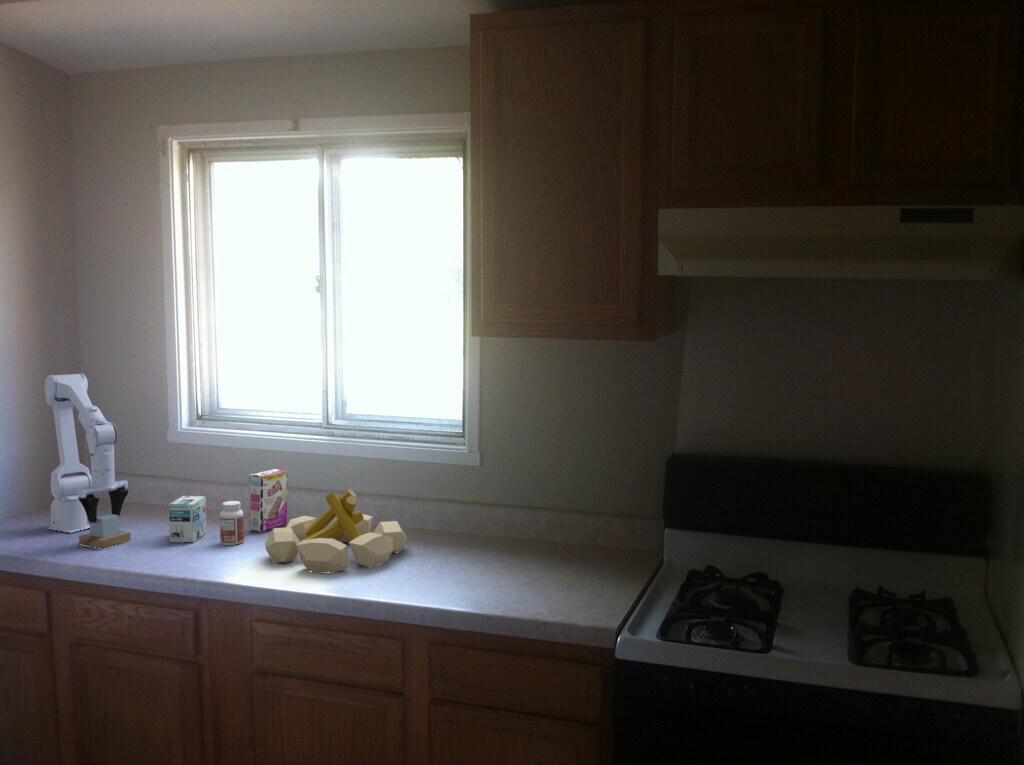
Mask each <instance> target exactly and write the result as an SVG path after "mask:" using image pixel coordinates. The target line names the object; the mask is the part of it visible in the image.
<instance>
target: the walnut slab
mask: <svg viewBox="0 0 1024 765" xmlns="http://www.w3.org/2000/svg"><path fill="white" fill-rule="evenodd" d="M78 540H79V541H78V545H79V544H82V545H87V546H91V547H96V548H101V549H104V548H107V549H109V548H108V547H111V546H114V547H116V546H115V545H118V546H120V545H119V544H121V545H123V544H122V543H125V542H128V541H131V532H130V531H129V532H128V531H123V530H119V533H118V534H115V535H112V536H108V537H105V538H102V537H96V536H91V535H90V532H89V533H84V534H81V535H78ZM131 542H132V541H131ZM128 543H129V542H128ZM125 544H126V543H125ZM91 547H90V548H91ZM96 548H95V549H96ZM111 548H112V547H111ZM101 549H100V550H101ZM104 550H105V549H104Z"/></svg>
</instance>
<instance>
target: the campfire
mask: <svg viewBox="0 0 1024 765" xmlns="http://www.w3.org/2000/svg"><path fill="white" fill-rule="evenodd" d="M356 495H357V494H356V493H355V492H354V491H353V489H351V488H348V489H347V490H345V491H344V492H343V493H342V495H340V497H338V495H337V494H336V492H330V493H329V494H327V496H325V498H324V499H325V500H326V502H327V504H328V506H329V507H328V508H327V509H326V510H325V511H324V512H323V513H322V514H321V515H319V517H318V518H317V517H313V516H307V515H303V516H299V517H295V518H291V519H289V521H288V522H287V523H288V524H287V525H286V527H278V528H273V529H272V530H271V532H269V536H268V537H267V539H266V540H265V543H264V546H265V551H266V553H268V555H269V557H270V558H271V560H272V561H273V563H275V562H277V563H276V564H279V563H281V562H283V563H292V562H294V560H295V558H296V557H297V555H298V556H299V559H300V562H301V564H302V565H303V567H305V569H306V570H307V571H308V572H309V571H312V572H311V573H317V572H330V573H329V574H333V573H332V572H335V573H338V572H340V571H342V570H344V569H349V567H350V565H349V553H348V545H349V547H350V550H351V553H352V555H353V558H354V560H355V563H356V564H357V565H358V566H359V565H361V566H360V567H364V566H365V568H368V567H373V566H376V565H379V564H382V563H384V564H386V563H385V562H387V563H388V561H389V559H390V557H391V554H393V553H392V552H399V551H400V552H401V551H402V550H403V548H404V546H405V544H406V542H407V541H408V536H406V534H405V533H404V530H403V529H402V527H401V525H400V524H399V522H398V520H392V521H379V523H378V524H377V526H376V528H375V529H374V531H373V532H371V528H372V523H373V518H374V517H373V516H372V515H368V514H364V513H362V511H360V510H359V509H357V510H356V511H355V508H356V506H357V503H358V500H357V496H356ZM339 541H340V542H339ZM343 542H349V543H348V545H347V544H345V543H343ZM400 552H399V553H400ZM291 561H292V562H291ZM382 565H383V564H382ZM379 566H380V565H379ZM376 567H377V566H376ZM373 568H374V567H373Z"/></svg>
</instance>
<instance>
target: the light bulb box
mask: <svg viewBox="0 0 1024 765" xmlns="http://www.w3.org/2000/svg"><path fill="white" fill-rule="evenodd" d="M206 501H207V498H206V496H199V495H197V496H196V495H182V496H180V497H179V498H177V499H175V500H173V501H172V502H171V503H169V504H168V506H169V508H168V510H169V543H184V542H194V541H195V542H196V541H198V540H199V539H201V538H202V537H203V536H205V535H206V534H207V505H206V503H207V502H206ZM205 533H206V534H205ZM204 534H205V535H204ZM201 536H202V537H201ZM200 537H201V538H200ZM197 539H198V540H197ZM195 542H194V543H195Z"/></svg>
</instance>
